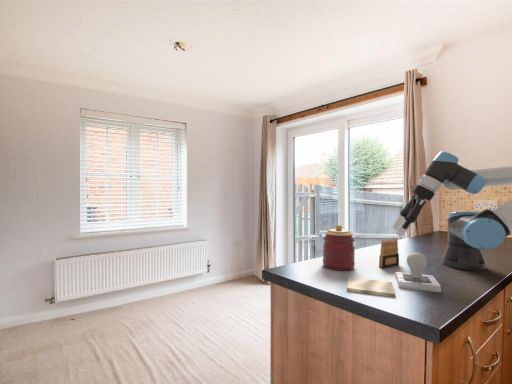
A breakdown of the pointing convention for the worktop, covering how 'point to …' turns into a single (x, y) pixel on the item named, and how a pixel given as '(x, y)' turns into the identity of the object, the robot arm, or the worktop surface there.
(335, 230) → the canister
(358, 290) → the birch board
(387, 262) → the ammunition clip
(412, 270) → the lightbulb
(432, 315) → the worktop surface
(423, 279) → the collar holder
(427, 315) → the worktop surface
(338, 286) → the worktop surface
